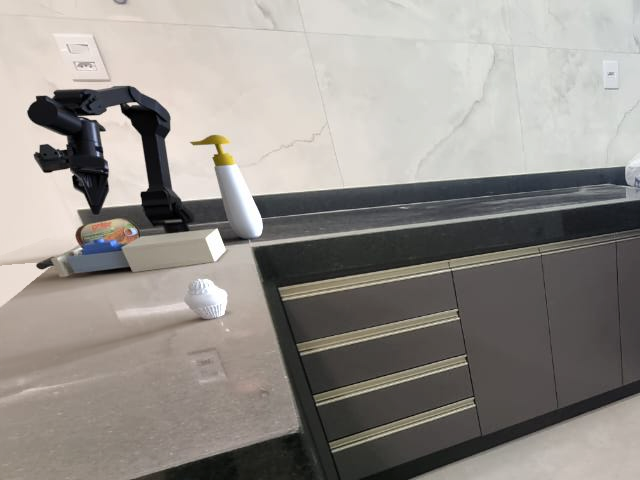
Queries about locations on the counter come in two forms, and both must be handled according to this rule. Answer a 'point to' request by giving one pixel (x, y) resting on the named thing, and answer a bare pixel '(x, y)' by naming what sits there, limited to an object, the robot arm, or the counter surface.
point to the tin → (108, 231)
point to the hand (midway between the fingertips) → (95, 209)
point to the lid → (101, 246)
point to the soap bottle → (234, 192)
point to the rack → (84, 262)
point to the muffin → (206, 299)
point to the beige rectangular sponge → (174, 250)
